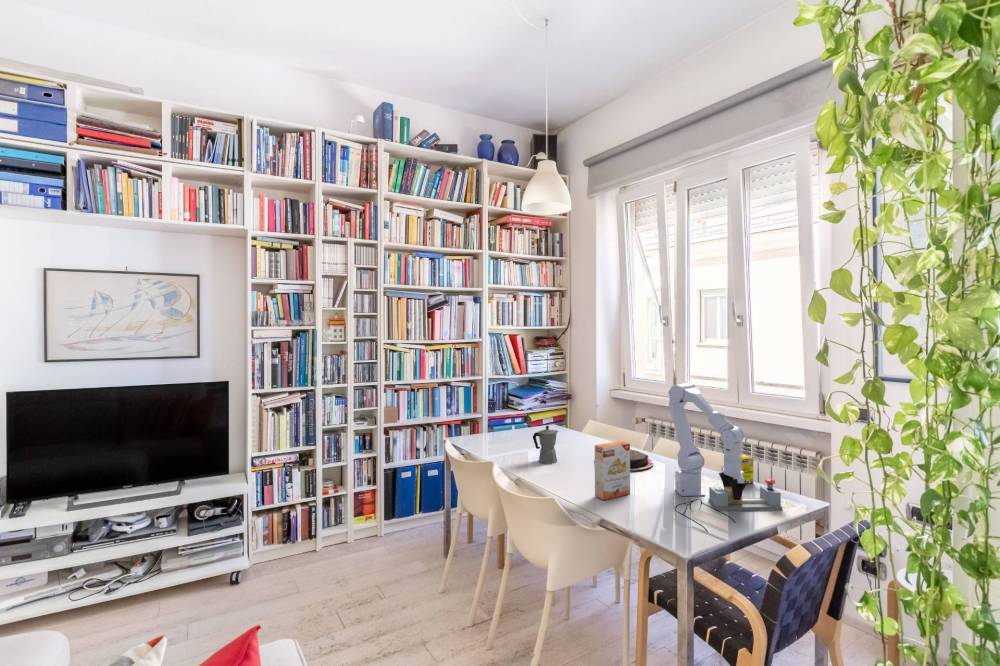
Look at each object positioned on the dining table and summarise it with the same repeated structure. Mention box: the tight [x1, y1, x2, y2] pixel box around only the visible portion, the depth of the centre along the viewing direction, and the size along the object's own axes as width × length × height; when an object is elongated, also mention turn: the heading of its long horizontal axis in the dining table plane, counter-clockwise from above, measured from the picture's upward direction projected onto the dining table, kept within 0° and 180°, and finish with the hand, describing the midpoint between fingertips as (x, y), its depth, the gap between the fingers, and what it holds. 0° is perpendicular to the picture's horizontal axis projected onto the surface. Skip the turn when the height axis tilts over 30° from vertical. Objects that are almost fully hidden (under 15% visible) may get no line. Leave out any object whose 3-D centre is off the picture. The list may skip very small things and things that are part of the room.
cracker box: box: [594, 440, 631, 501], centre depth 194 cm, size 14×6×21 cm, turn 118°
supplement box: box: [733, 454, 754, 485], centre depth 206 cm, size 6×6×11 cm
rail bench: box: [707, 485, 783, 512], centre depth 181 cm, size 23×9×6 cm, turn 88°
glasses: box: [674, 498, 737, 533], centre depth 169 cm, size 14×15×5 cm
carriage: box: [723, 486, 743, 504], centre depth 181 cm, size 5×4×5 cm
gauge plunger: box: [764, 478, 776, 491], centre depth 180 cm, size 3×3×4 cm
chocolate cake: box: [630, 448, 654, 472], centre depth 237 cm, size 28×28×7 cm
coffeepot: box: [532, 425, 559, 465], centre depth 242 cm, size 15×9×18 cm, turn 121°
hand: (732, 495), depth 181 cm, fingers open, 7 cm apart
